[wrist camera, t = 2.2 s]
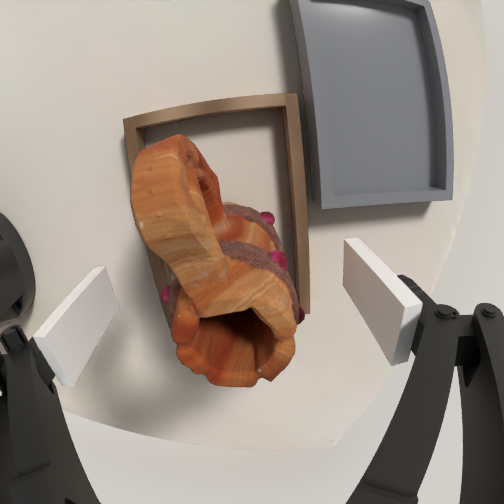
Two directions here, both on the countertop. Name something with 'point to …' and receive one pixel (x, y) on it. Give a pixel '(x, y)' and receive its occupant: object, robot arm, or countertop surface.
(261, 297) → the mug
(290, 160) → the wooden picture frame
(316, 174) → the tray
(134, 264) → the countertop surface
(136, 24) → the countertop surface
